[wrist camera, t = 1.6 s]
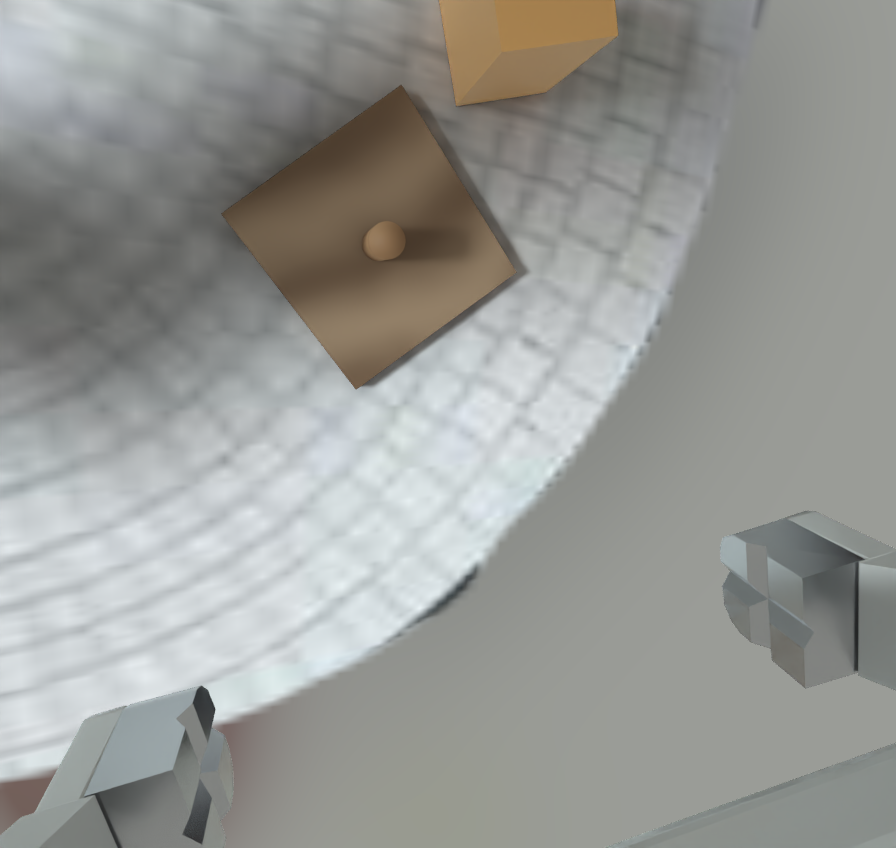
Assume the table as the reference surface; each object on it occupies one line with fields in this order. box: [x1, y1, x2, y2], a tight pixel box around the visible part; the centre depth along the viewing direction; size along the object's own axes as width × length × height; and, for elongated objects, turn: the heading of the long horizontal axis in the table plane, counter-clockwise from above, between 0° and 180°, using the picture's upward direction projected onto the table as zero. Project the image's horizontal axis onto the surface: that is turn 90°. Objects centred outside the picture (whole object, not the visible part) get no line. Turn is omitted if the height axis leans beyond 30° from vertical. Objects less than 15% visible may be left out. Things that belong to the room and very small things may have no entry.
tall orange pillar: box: [439, 0, 618, 106], centre depth 30 cm, size 6×6×9 cm
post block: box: [221, 85, 517, 389], centre depth 33 cm, size 12×12×6 cm
